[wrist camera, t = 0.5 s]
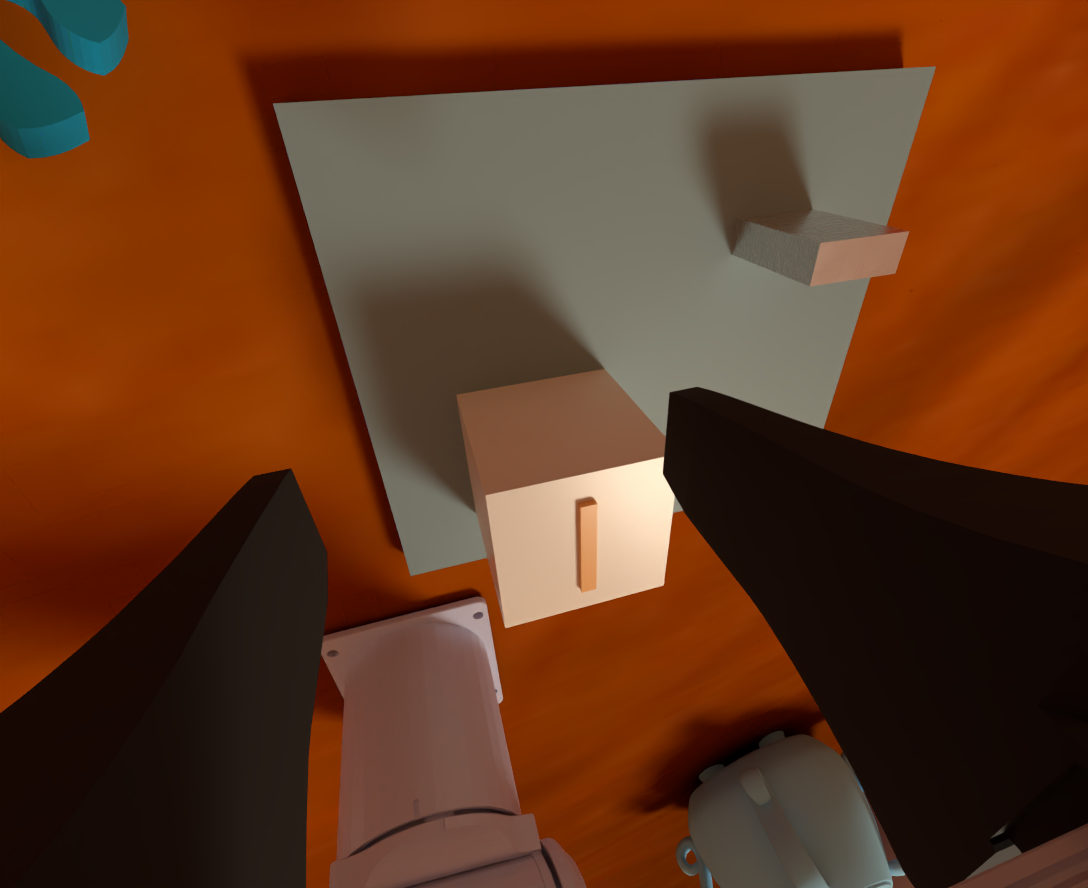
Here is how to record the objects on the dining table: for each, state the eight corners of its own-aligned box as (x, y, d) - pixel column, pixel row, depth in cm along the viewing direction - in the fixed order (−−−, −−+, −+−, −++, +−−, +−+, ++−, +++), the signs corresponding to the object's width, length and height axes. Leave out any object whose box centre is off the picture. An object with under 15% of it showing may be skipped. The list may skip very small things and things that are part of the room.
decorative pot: (756, 801, 56) (850, 969, 45) (641, 818, 49) (719, 1022, 38) (852, 712, 49) (989, 884, 38) (735, 717, 42) (862, 930, 31)
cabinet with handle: (604, 368, 19) (683, 457, 14) (602, 485, 22) (666, 589, 17) (456, 394, 18) (487, 500, 13) (475, 513, 21) (506, 633, 16)
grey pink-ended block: (804, 244, 18) (894, 273, 15) (731, 254, 18) (810, 286, 15) (812, 209, 18) (909, 230, 15) (737, 217, 17) (820, 243, 14)
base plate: (791, 467, 27) (806, 480, 26) (409, 556, 23) (410, 575, 22) (904, 68, 17) (936, 66, 16) (280, 103, 13) (272, 103, 12)
